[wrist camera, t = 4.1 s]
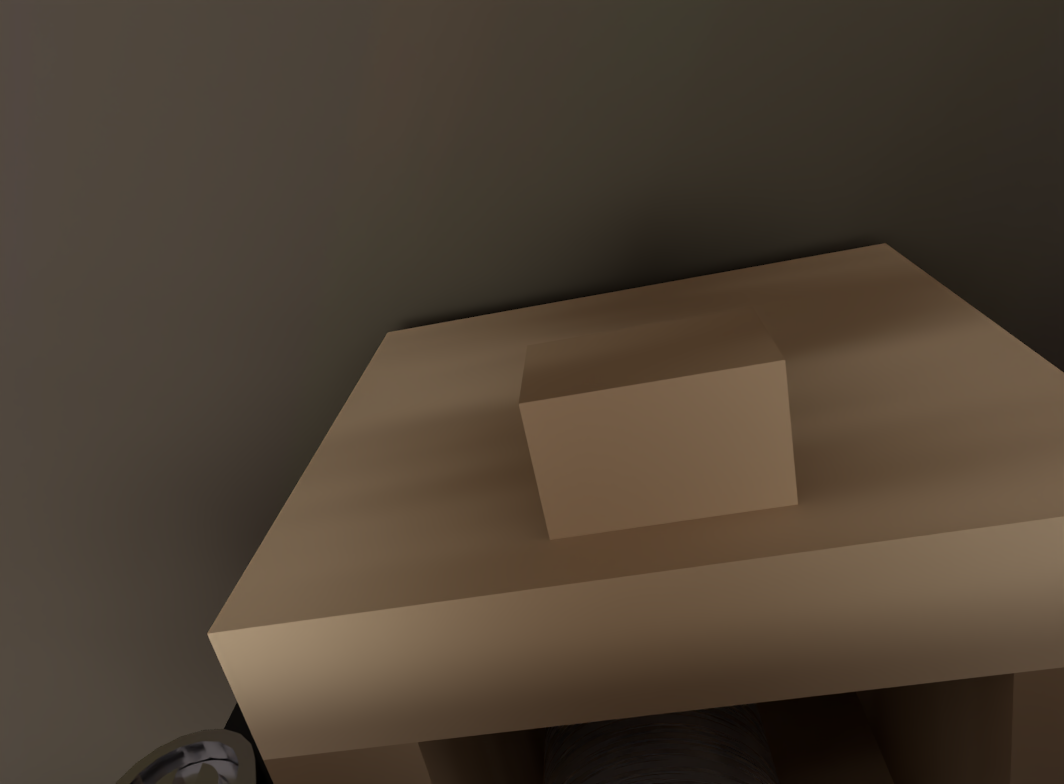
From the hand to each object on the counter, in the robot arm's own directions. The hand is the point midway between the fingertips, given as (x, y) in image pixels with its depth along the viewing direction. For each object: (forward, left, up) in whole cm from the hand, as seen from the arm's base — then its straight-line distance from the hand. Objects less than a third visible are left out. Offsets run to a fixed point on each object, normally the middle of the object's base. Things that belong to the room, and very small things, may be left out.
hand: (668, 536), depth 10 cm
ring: (0, 0, -1) cm, 1 cm away
